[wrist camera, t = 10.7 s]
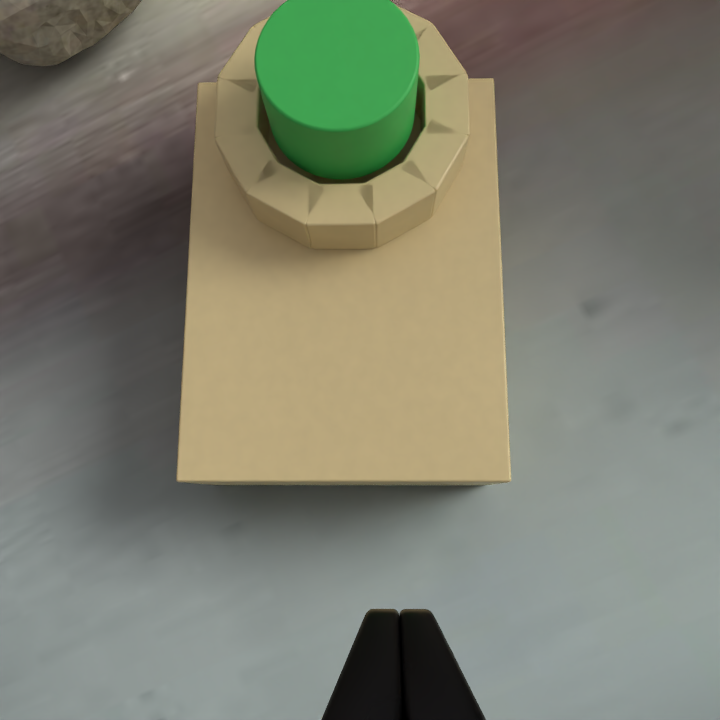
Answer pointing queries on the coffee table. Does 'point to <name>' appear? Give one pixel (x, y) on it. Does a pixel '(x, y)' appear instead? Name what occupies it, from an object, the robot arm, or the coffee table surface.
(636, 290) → the coffee table surface
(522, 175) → the coffee table surface
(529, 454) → the coffee table surface
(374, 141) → the light button
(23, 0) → the stone
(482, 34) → the coffee table surface
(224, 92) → the switch box
